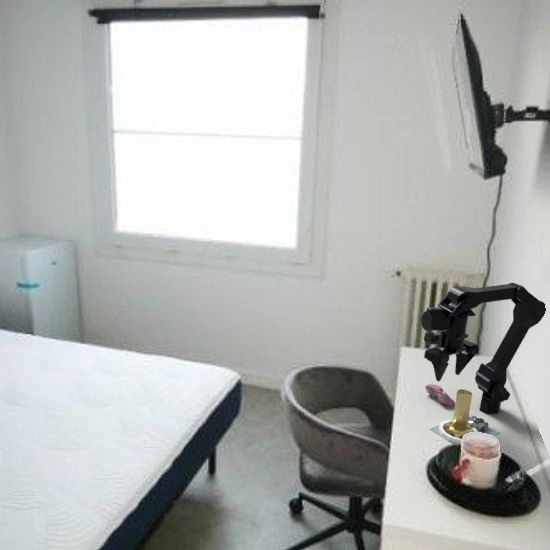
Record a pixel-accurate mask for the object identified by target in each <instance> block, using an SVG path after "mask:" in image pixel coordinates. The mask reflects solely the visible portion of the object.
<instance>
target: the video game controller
mask: <svg viewBox="0 0 550 550" xmlns="http://www.w3.org/2000/svg"><path fill="white" fill-rule="evenodd" d="M424 388H425V391H426V393H427V394H429V395H430V396H431V397H432V398H433V399H435V400H437V402H438V403H440V404H443V405H446V406H447V407H452V406H455V403H456V401H455V400H454V399H453V398H451V397H450V396H449V394H448V393H447V392H446V391H445V390H444V389H443V388H442V386H440V385H437V384H434V383H433V382H431V383H428V384H426V385H425V387H424Z"/></svg>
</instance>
